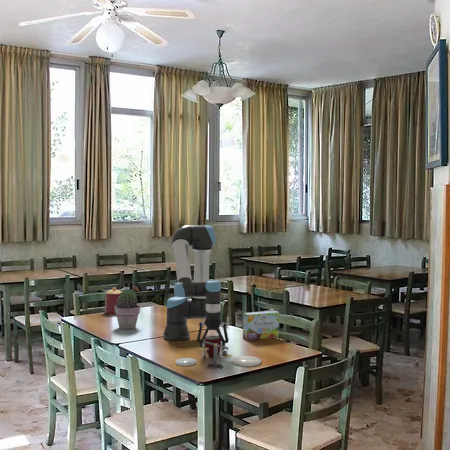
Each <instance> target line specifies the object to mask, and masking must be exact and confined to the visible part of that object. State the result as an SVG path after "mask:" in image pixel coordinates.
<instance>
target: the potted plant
mask: <svg viewBox="0 0 450 450" xmlns="http://www.w3.org/2000/svg"><path fill="white" fill-rule="evenodd" d="M138 293H140V289H139V287H137V286H136V285H134V286H133V287H132V288H131V289H128V288H126V289H124V290H122V292H121V293H120V296H119V298H118V301H116V302H118V303H117V305H116V306H115V314H114V315H116V319H117V324H118V328H119V329H120V330H134V329H136V326H137V322H138V318H139V315H140V312H141V307H143V306H142V305H141V306H140V304H138V301H139V300H138V298H137V297H138V296H139V297H140V295H138ZM114 303H115V302H114ZM133 328H134V329H133Z"/></svg>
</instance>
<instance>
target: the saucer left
mask: <svg viewBox="0 0 450 450" xmlns="http://www.w3.org/2000/svg"><path fill="white" fill-rule="evenodd" d="M175 364H176V365H177V366H180V367H189V366H194V365H196V364H197V360H196V359H195V358H192V357H190V358H189V357H181V358H177V359H176V360H175Z"/></svg>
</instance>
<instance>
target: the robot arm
mask: <svg viewBox="0 0 450 450" xmlns="http://www.w3.org/2000/svg"><path fill="white" fill-rule="evenodd" d="M215 246H216V234H215V230H214V227H213V226H211V225H207V224H200V225H199V224H196V225H194V224H192V225H190V224H187V225H183V226H182V225H181V227H179V228H177V230H176V231H175V232H174V233H173V235H172V238H171V248H172V250H173V251H174V260H175V261H174V262H175V272H176V281H177V282H175V283H174V286H173V294H174V296H173V297H170V298H168V299H167V300H166V306H165V307H166V324H165V327H164V331H163V335H162V337H163V339H165V340H168V341H185V340H188V339H190V336H191V334H190V331H189V328H188V327H189V326H188V320H204V321H200V322H199V323H198V326H199V328H198V333H197V337H196V342H197V343H199V344H200V347H204V342H203V340H205V337H207V336H208V333H209V331H216V333H217V336H219V337H220V338H221V345H222V346H225V347H226V344H228V343H229V341H230V340H229V335H228V334H229V333H228V329H227V322H222V321H221V308H222V307H221V299H222V298H221V295H222V292H221V291H222V290H221V289H222V286H221V281H219V280H213V279H211V280H210V252H212V250H213V247H215ZM190 247H191V250H192V251H193V253H194V260H193V261H194V262H193V271H194V272H193V281H192V272H191V264H190V262H191V261H190V256H189V254H190V253H189V248H190ZM204 325H205V326H206V330H205V332H204V333H203V336H202V331H203V327H204ZM220 326H221V327H222V329H223V334H224V336H223V334H222V331H221V330H220V329H221V328H220ZM201 336H202V337H201ZM200 347H199V348H200ZM223 351H226V349H224V348H221V347H220V358H223V357H222V355H223ZM201 352H202V353H201V355H202V357H205V356H206V355H205V352H206V350H201Z"/></svg>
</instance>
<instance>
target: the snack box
mask: <svg viewBox="0 0 450 450" xmlns="http://www.w3.org/2000/svg"><path fill="white" fill-rule="evenodd" d="M242 322H243V323H242V324H243V327H242V339H243V340H245V341H252V340H253V341H254V340H263V339H271V338H272V339H273V338H279V335H280V334H279V333H280V311H277V310H265V311H252V312H243V319H242Z"/></svg>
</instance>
